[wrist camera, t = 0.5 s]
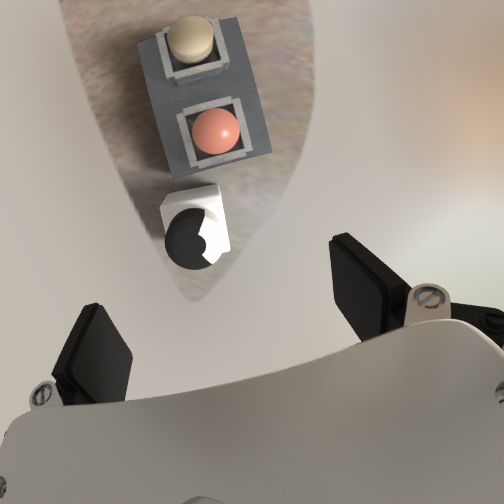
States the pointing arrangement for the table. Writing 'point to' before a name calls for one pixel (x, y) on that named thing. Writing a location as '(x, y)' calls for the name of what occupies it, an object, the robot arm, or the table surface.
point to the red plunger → (215, 131)
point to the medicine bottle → (195, 226)
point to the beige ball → (190, 39)
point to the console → (203, 97)
